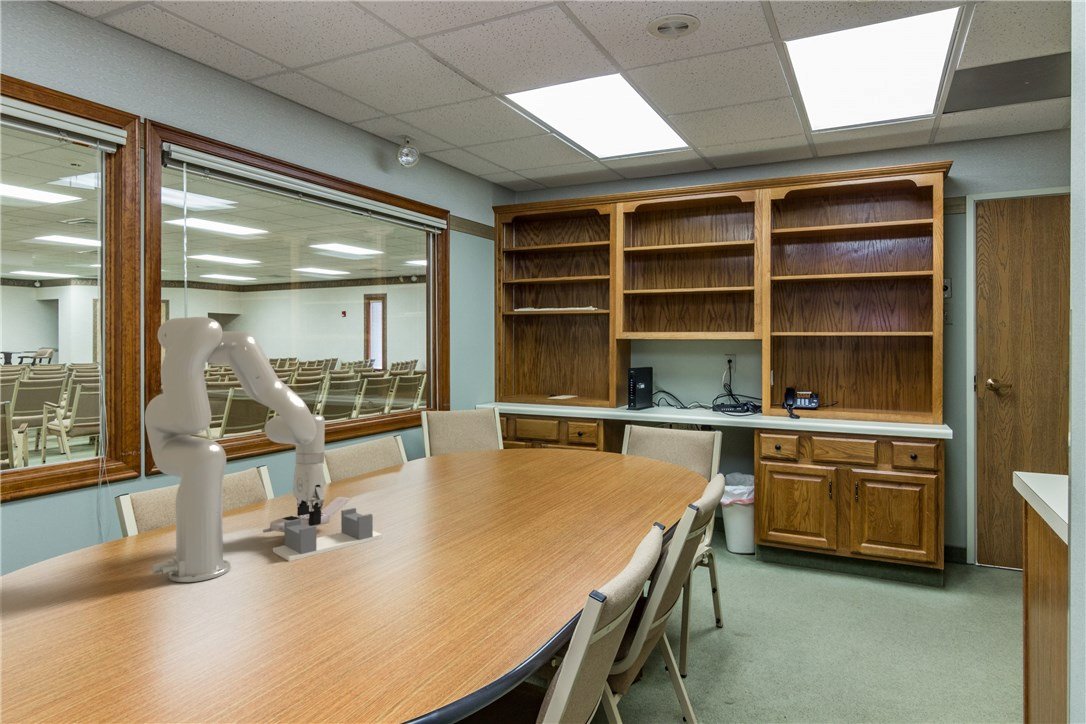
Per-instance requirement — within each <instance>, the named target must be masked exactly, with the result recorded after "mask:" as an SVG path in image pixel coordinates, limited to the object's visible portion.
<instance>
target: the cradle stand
mask: <svg viewBox="0 0 1086 724" xmlns="http://www.w3.org/2000/svg"><path fill="white" fill-rule="evenodd" d="M340 510H341V509H340ZM340 512H341V515H340V517H341V523H340V525H341V526H340V527H341V529H340V530H341V532H338V533H337V532H336V533H333V534H329V535H328V534H327V535H324V536H319V537H317V526H311V527H306V526H304V525H302V524H301V519H297V520H292V521H287V522H284V532H283V533H284V545H280V546H277V547H273V548H272V553H275V555H278V556H280V557H281V558H283V559H285V560H287V561H288V562H293V561H296V560H299V559H304V558H307V557H311V556H312V557H313V556H315V555H320V554H323V553H324V554H325V553H327V552H331V551H336V550H339V549H344V548H348V547H351V546H356V545H361V544H363V543H368V542H372V541H375V540H376V541H377V540H381V539H383V534H382V533H379V532H377V531H375V530H373V528H374V527H373V514H372V513H367V514H361V513H358V512H357V508H355V507H352V508H347V509H342V510H341V511H340Z"/></svg>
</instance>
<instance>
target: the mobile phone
mask: <svg viewBox="0 0 1086 724" xmlns="http://www.w3.org/2000/svg"><path fill="white" fill-rule="evenodd" d="M351 500H352V498H349V497H345V496H337V497H335V498H334V499H333V500H332V501H331V502H330V503H329V504H327V505H326V506H325V507H324V508H322V510H321V524H319V525H314V526H316V527H318V526H322V525H326V524H329V522H330V520H331V517H333V516H334V515H335V514H336V513H337V512H338V511H340V510H341V508H343V507H345V505H347V503H349V502H350V501H351ZM297 519H301V524H302V525H304V526H306V527H311V526H309V514H306V515H301V516H293V515H290V516H285V517H282V518H279V519H275V520H272V521H270V522H269V528H265V529H263V530H262V533H269V532H270V533H271V532H278V533H284V522H287V521H292V520H297Z"/></svg>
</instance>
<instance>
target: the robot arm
mask: <svg viewBox="0 0 1086 724" xmlns="http://www.w3.org/2000/svg"><path fill="white" fill-rule="evenodd" d="M222 328H223V327H222V325H221V324H220V323H219V322H218V321H217V320H215V319H213V318H211V317H207V316H191V317H175V318H170V319H168V320H166V321H164V322H163V323H162V324H161V325H160V326H159V328H158V330H157V341H158V343H159V344H160V346H161V347H162V348H163V349H164V350H166V351H167V352H166V353H165V355H164V357H163V359H162V363H161V367H160V380H161V386H162V387H161V388H162V393H160V394H157V395H156V396H154V397H153V398H152V399H151V400H150V401H149V403H148V404H147V406H146V409H145V412H144V422H145V427H146V432H147V433H146V434H147V438H148V443H149V445H150V446H149V447H150V452H151V455H152V459H153V462H154V464H155V467H157V469H158V470H159V472H161V473H163V474H165V475H167V476H169V477H170V476H172V477H176V478H180V482H179V485H178V487H177V491H176V495H175V496H176V497H175V542H176V543H175V546H176V547H175V549H176V550H175V551H176V553H175V555H172V557H171V558H172V559H170V560H168V561H167V562H163V563H157V564H154V565H152V566H151V571H152V574H153V575H155V574H159V573H160V574H161V575H164V574H168V579H169V580H170V581H172V582H176V583H196V582H203V581H207V580H212V579H215V578H217V577H220V576H222V575H224V574H226V573H228V571H230V569H231V562H230V561H228V560H225V559H224V545H223V544H224V541H223V538H224V537H223V536H224V535H223V534H224V533H223V532H224V530H223V526H224V525H223V523H224V522H223V487H224V486H223V484H224V477H225V471H226V467H227V453H226V451H225V449H224V448H223V447H222V445H221V444H220V443H218V442H217V441H214V440H211V439H208V438H202V437H201V438H200V437H192V435H193V436H194V435H198V434H201V433H203V432H205V431H206V430H207V429H209V427H210V425H211V423H212V410H211V406H210V400H209V394H208V391H207V385H206V380H205V366H206V363H209V364H213V365H228V366H229V367H230V369H231V371H232V372H233V374H234V376H235V378H236V379H237V381H238V382H239V384H240V386H241V387H242V389H243V391H244V393H245V394H246V395H247V396H248V397H249V398H250V399H252V400H254V401H255V402H258V403H259V404H262V405H264V406H265V407H268V408H269V409H270V410H273V411H274V412H275V413H276V414H278V415H276V416H274V417H271V418H270V419H269V420H268V421H266V422H267V423H266V424H265V426H264V433H265V436H266V437H267V438H268V440H270V441H272V442H273V443H277V444H286V445H287V444H288V445H295V468H294V475H293V489H292V495H293V497H294V498H295V499H296V500H297V502H296V505H297V508H296V509H297V514H296V515H297V516H301V515H306V514H309V526H314V525H318V526H320V525H319V524H321V511H322V510H323V505H324V501H325V497H324V496H325V495H324V494H325V478H324V477H325V476H324V466H323V464H325V432H326V431H325V426H326V425H325V423H326V421H325V417H324V416H323V415H322V414H312V413H311V411H310V409H309V408H308V406H307V404H306V403H305V401H304V400H303V399H302V398H301V397H300V396H299V395H298V394H297V393H295V391H293V390H292V389H291V388H290V387H289V386H288V385H287V384H286V383H284V382H283V381H281V379H280V378H279V377H278V376H277V374H276V372H275V369H274V368H273V366H272V365H271V363H270V361H269V360H268V358H267V355H266V354H265V352H264V351H263V348H262V347H261V345H260V343H259V341H258V340H257V338H256V337H255V336H254V335H253V334H252V333H249V332H247V331H242V330H241V331H239V330H237V331H235V330H234V331H232V330H231V331H230V330H229V331H223V329H222Z"/></svg>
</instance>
